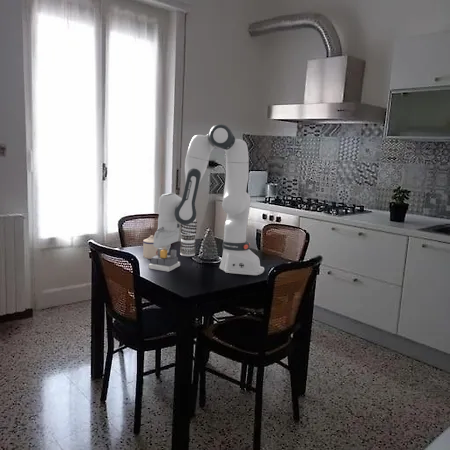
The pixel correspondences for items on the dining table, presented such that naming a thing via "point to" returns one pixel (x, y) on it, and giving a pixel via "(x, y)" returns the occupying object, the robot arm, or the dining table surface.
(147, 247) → the teacup with lid
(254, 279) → the dining table surface
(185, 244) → the decorative candle
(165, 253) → the breaker handle
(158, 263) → the slab with raised knobs
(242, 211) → the robot arm
